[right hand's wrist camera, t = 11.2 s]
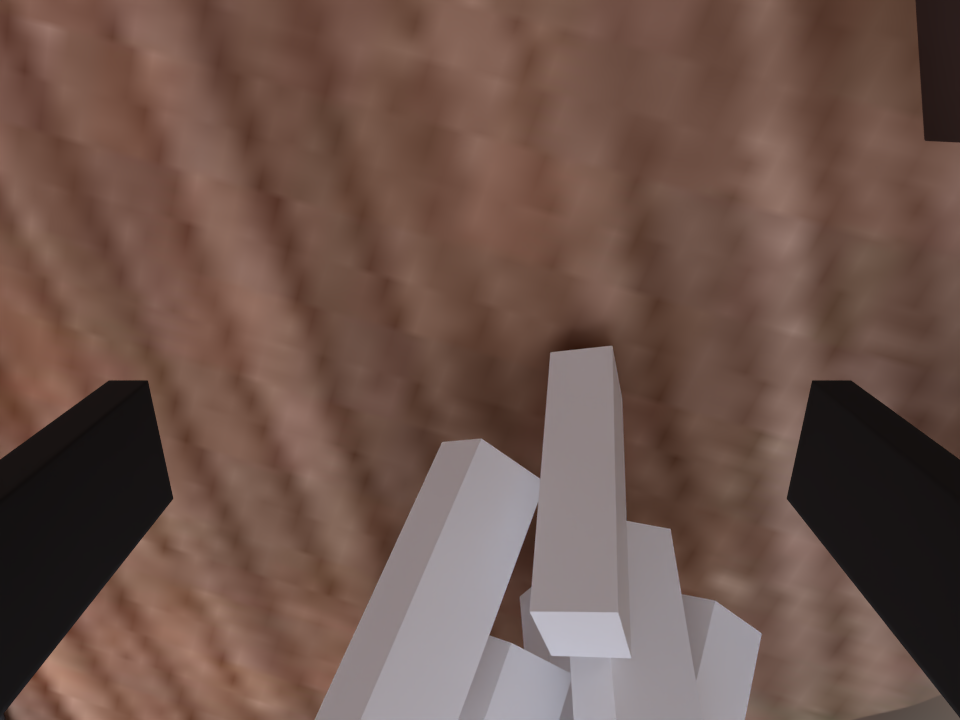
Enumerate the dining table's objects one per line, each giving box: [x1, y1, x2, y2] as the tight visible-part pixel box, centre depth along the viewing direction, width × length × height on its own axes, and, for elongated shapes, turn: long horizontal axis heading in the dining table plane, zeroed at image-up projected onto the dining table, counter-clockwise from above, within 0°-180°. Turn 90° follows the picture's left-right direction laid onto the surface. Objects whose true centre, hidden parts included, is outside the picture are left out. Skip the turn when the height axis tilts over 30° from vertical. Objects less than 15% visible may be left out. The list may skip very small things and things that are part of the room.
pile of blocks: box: [315, 346, 762, 720], centre depth 41 cm, size 35×30×35 cm
